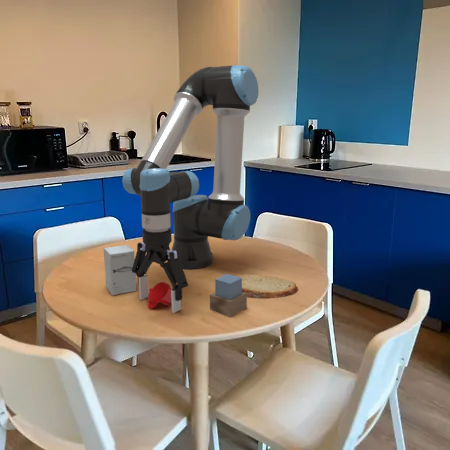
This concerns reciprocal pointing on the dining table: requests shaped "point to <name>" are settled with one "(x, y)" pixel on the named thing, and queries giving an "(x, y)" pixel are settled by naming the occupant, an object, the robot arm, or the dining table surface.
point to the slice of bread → (267, 286)
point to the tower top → (228, 286)
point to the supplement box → (119, 269)
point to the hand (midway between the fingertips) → (159, 304)
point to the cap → (159, 295)
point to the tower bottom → (228, 304)
